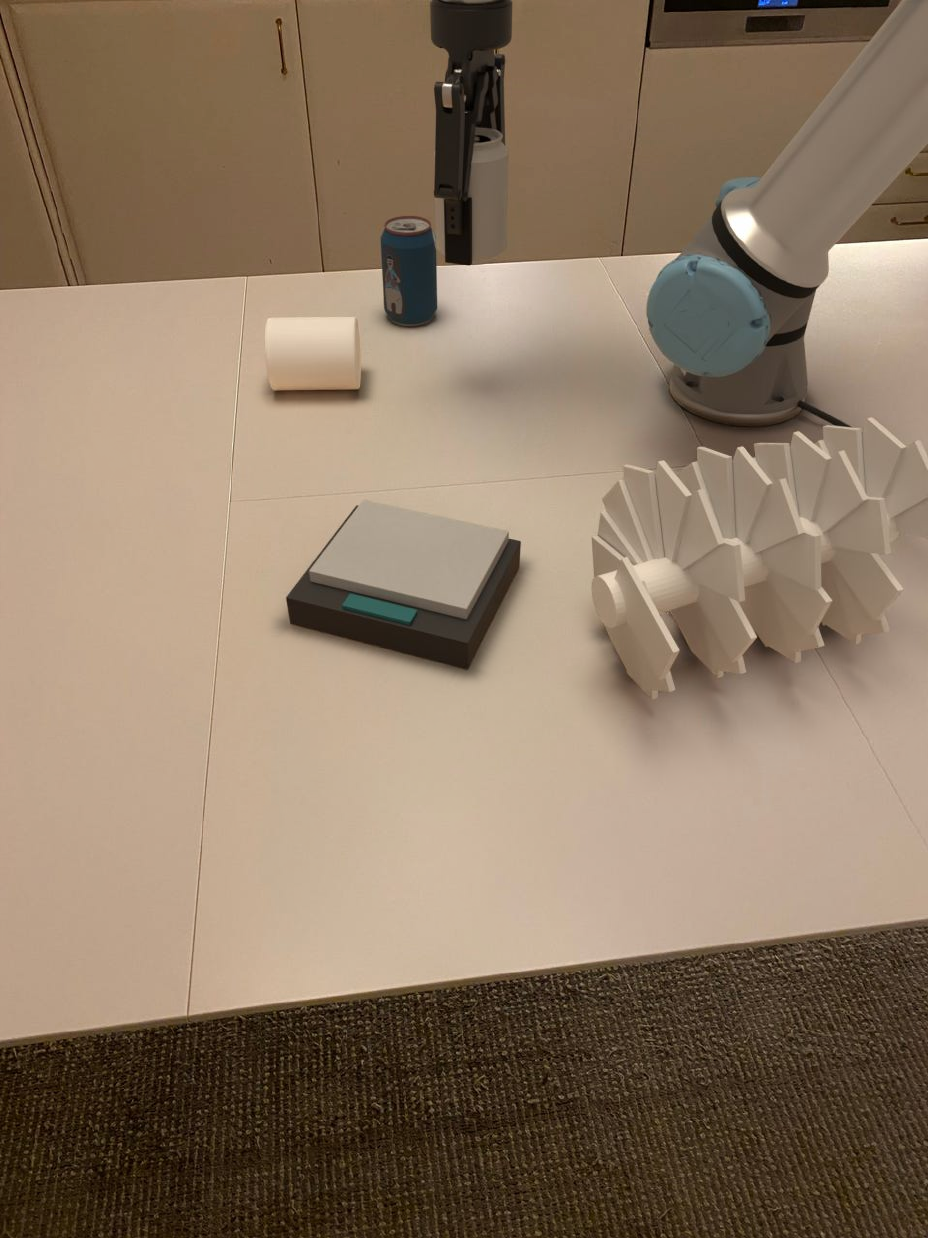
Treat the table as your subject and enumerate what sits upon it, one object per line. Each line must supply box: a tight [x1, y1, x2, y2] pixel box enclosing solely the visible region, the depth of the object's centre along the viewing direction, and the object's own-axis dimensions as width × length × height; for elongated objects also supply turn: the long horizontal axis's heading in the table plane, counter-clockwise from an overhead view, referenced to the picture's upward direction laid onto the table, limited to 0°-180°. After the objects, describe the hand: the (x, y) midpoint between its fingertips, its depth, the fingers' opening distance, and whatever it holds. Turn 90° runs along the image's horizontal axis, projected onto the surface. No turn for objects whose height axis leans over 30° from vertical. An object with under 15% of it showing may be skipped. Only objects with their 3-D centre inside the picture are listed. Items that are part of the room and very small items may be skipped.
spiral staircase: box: [590, 417, 928, 700], centre depth 74 cm, size 18×18×25 cm
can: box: [433, 127, 510, 266], centre depth 98 cm, size 8×8×12 cm
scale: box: [285, 499, 522, 670], centre depth 82 cm, size 16×14×4 cm
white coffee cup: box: [263, 316, 362, 391], centre depth 110 cm, size 12×10×8 cm
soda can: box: [380, 215, 438, 327], centre depth 121 cm, size 7×7×12 cm
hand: (471, 248), depth 101 cm, fingers closed on can, 7 cm apart
